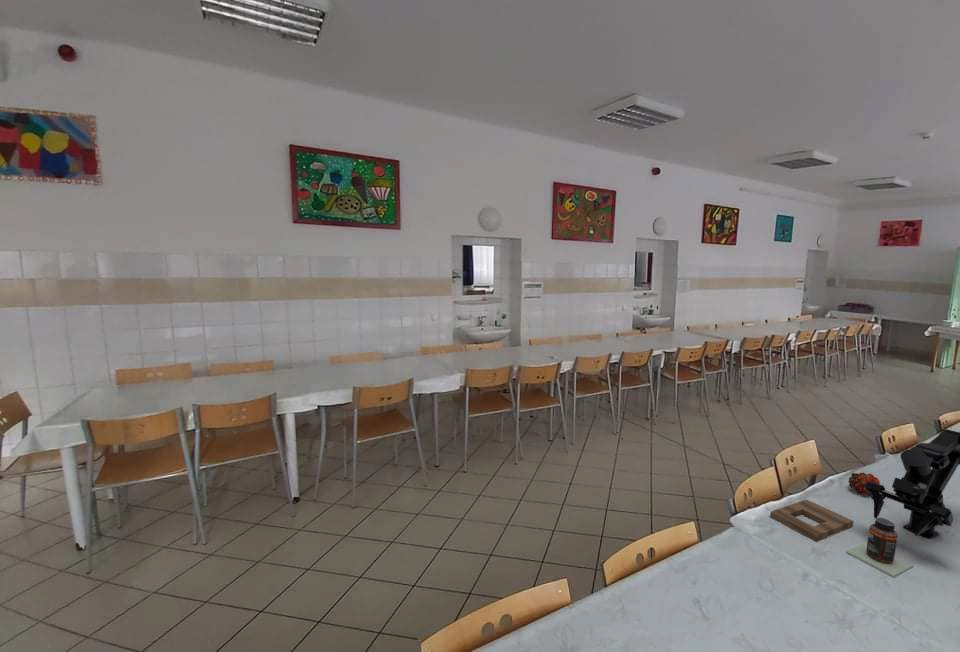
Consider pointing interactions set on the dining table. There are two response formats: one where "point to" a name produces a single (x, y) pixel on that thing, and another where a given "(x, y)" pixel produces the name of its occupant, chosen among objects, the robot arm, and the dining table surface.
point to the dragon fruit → (861, 481)
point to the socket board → (825, 517)
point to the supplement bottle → (882, 541)
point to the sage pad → (888, 568)
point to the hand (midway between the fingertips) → (894, 526)
